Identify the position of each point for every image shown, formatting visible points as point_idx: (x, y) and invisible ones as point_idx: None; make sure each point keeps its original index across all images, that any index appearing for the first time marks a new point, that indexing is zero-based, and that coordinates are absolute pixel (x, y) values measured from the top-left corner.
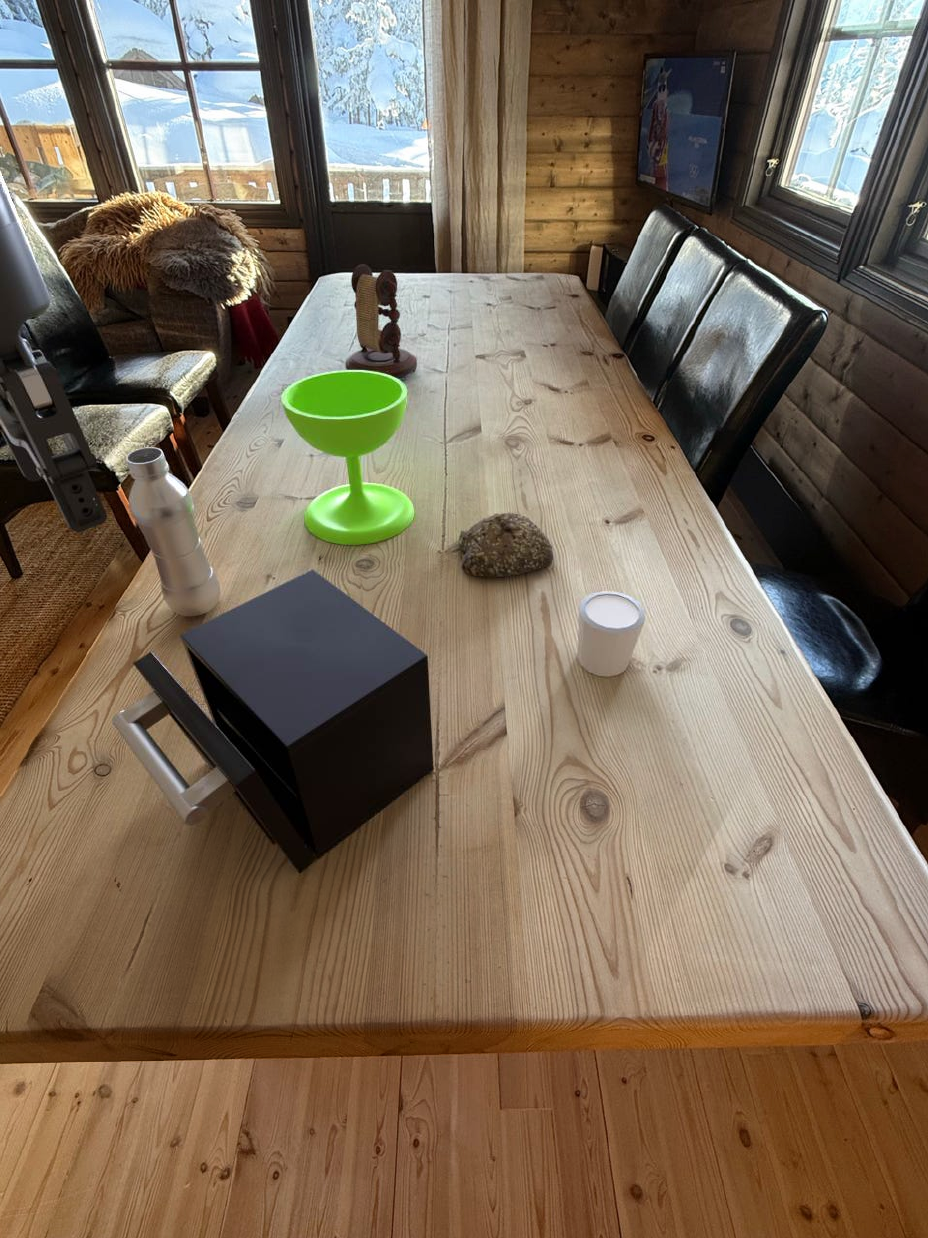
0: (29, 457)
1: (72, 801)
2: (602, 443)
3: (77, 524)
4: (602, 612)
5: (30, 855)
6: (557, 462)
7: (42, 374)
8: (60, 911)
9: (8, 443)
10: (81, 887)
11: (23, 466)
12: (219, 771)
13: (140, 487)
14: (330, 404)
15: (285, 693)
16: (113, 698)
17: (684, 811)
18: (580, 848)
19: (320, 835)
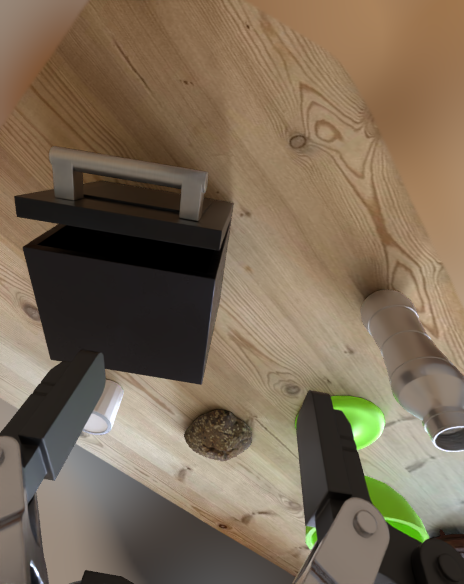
0: (310, 438)
1: (291, 102)
2: (242, 517)
3: (69, 362)
4: (94, 420)
5: (271, 41)
6: (253, 498)
7: None
8: (199, 30)
9: (325, 463)
10: (206, 57)
11: (313, 416)
12: (66, 198)
13: (442, 398)
14: (394, 522)
15: (78, 283)
16: (360, 195)
17: (5, 331)
18: (16, 288)
19: None
